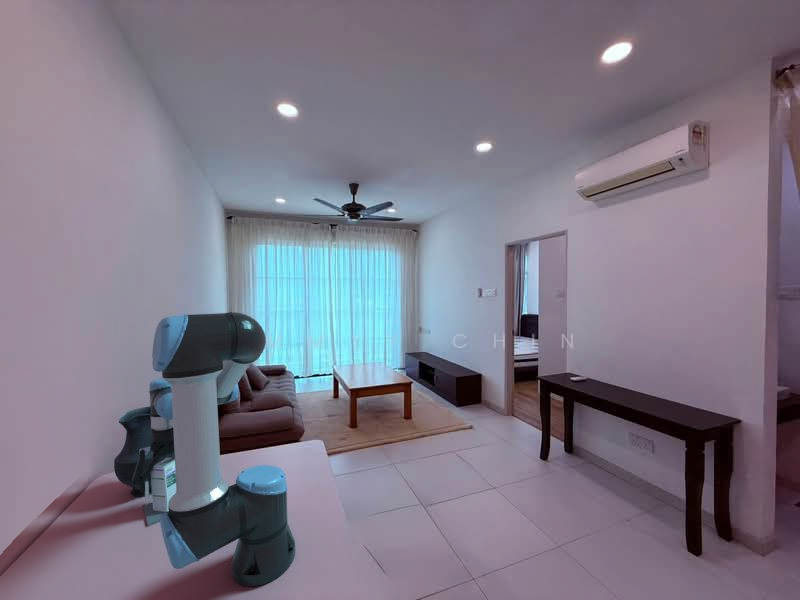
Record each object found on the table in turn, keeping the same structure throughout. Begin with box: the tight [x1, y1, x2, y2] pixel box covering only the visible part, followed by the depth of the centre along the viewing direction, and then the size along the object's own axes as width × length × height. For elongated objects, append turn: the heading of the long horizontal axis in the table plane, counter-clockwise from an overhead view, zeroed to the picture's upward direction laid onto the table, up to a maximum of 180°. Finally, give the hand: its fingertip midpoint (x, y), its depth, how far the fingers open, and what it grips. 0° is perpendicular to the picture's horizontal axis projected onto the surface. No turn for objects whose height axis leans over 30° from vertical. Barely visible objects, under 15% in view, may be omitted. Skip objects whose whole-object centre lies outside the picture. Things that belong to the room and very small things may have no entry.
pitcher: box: [113, 406, 175, 498], centre depth 115 cm, size 17×21×30 cm
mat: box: [142, 501, 165, 527], centre depth 103 cm, size 12×12×1 cm
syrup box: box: [150, 458, 176, 512], centre depth 103 cm, size 6×6×14 cm
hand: (168, 492), depth 103 cm, fingers open, 10 cm apart
